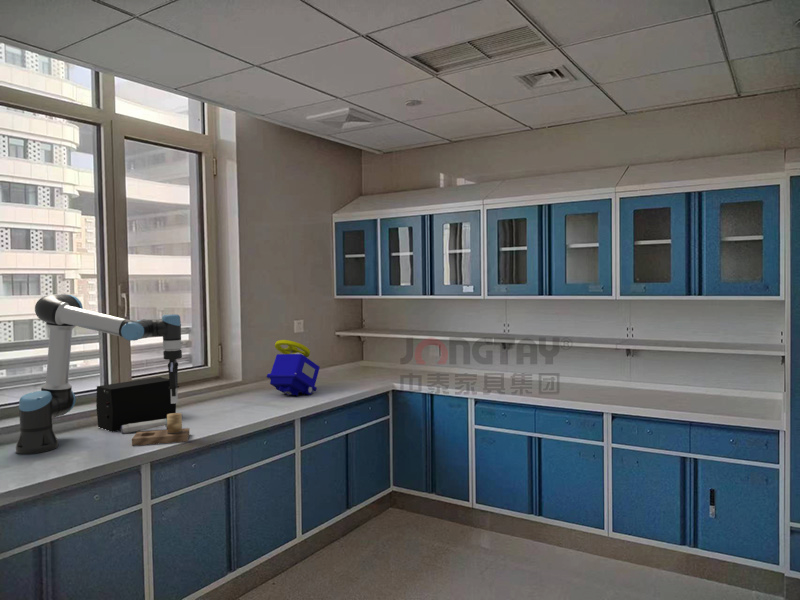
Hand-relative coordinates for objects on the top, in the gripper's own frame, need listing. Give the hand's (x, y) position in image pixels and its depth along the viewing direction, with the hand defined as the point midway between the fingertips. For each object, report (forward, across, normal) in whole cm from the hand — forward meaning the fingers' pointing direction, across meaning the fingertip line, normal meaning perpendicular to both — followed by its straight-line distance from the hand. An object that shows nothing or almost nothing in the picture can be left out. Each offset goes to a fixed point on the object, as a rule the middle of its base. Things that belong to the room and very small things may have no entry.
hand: (174, 403), depth 260 cm
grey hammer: (+16, +19, +13) cm, 28 cm away
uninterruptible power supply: (+16, +37, +22) cm, 46 cm away
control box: (+16, +90, -57) cm, 108 cm away
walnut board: (+16, 0, +6) cm, 17 cm away
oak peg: (+16, 0, 0) cm, 16 cm away
